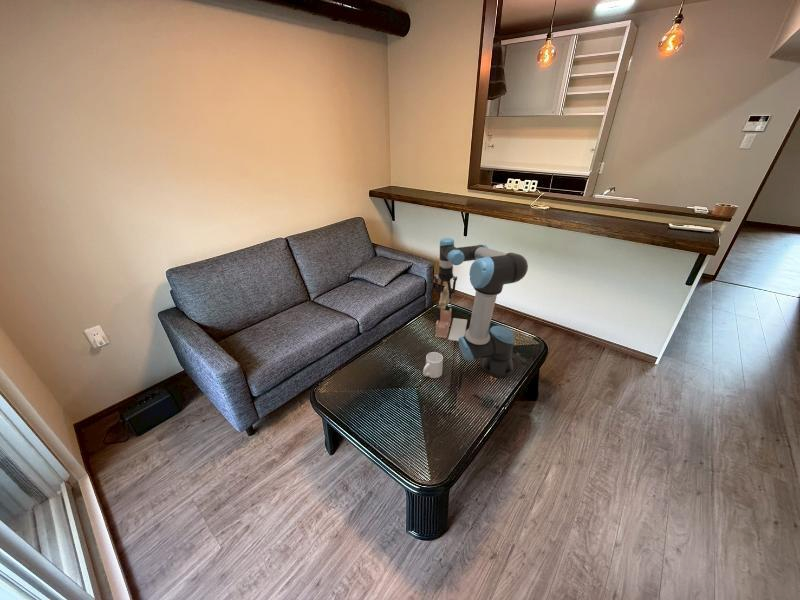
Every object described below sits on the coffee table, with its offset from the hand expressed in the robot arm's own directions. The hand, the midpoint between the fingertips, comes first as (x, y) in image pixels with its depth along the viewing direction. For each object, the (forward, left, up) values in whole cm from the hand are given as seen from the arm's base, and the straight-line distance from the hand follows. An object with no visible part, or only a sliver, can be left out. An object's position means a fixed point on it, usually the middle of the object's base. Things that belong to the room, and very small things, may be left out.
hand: (444, 302), depth 181 cm
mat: (-9, 0, -18) cm, 20 cm away
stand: (0, 0, -18) cm, 18 cm away
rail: (0, 0, +2) cm, 2 cm away
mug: (-1, +43, -19) cm, 47 cm away
